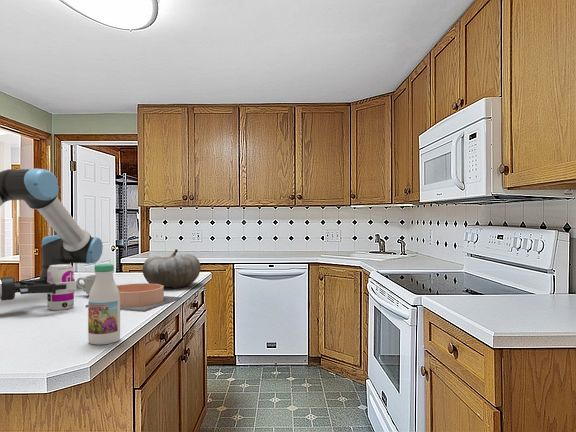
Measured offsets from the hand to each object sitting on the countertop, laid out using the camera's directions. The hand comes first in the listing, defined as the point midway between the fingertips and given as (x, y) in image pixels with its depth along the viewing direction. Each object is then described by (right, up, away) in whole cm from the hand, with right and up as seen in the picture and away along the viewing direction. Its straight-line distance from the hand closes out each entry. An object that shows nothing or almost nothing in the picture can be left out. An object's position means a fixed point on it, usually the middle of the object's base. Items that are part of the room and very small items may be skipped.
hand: (71, 282), depth 160 cm
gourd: (+24, -8, +44) cm, 51 cm away
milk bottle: (+29, -9, -42) cm, 52 cm away
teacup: (-1, -9, +21) cm, 23 cm away
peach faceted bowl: (+20, -8, +7) cm, 23 cm away
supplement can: (-3, -9, -2) cm, 9 cm away
